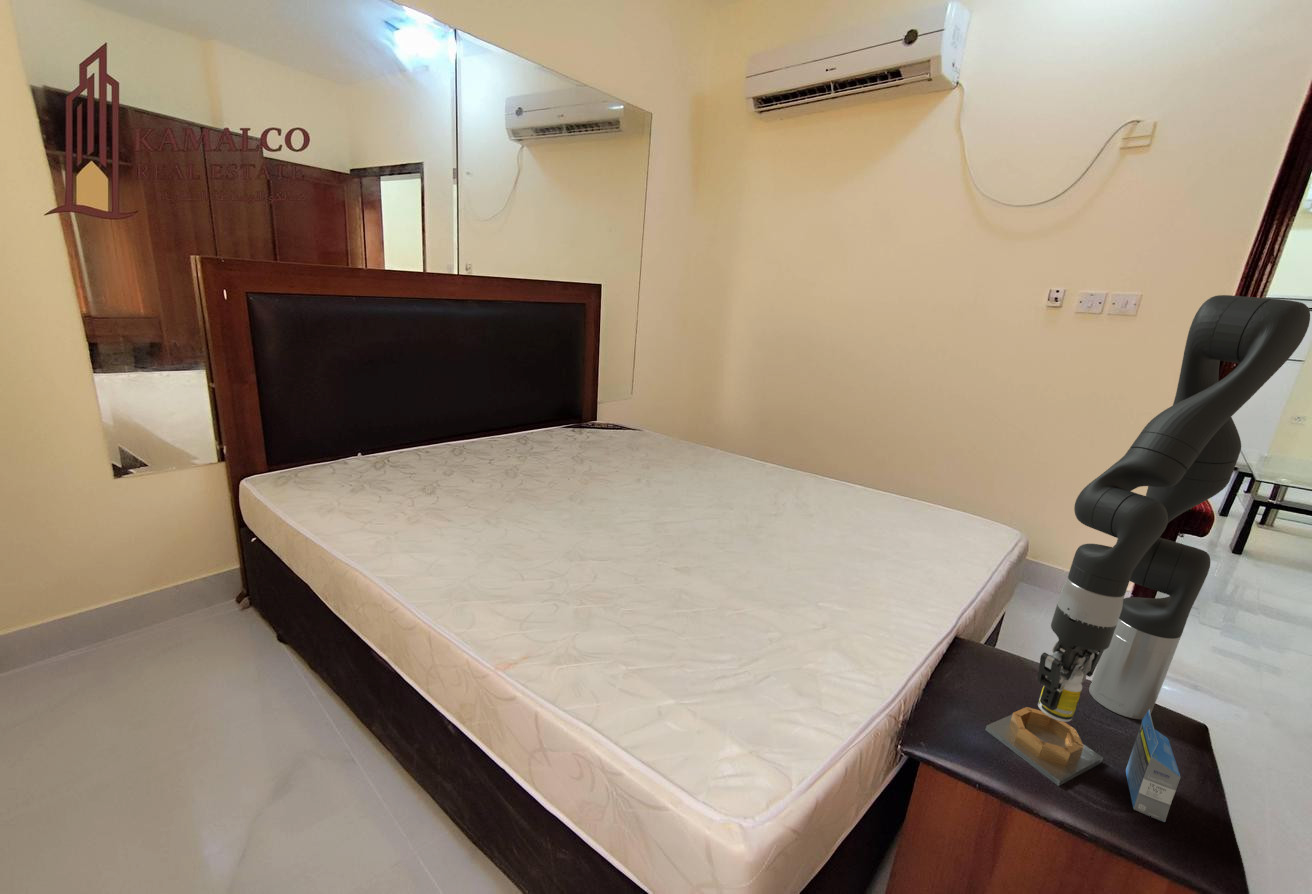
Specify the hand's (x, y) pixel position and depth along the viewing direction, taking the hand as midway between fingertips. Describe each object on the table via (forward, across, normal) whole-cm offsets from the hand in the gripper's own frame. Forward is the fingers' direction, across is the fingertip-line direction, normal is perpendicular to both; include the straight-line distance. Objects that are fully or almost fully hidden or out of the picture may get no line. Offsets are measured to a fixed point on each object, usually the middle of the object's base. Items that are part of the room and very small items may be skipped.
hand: (1057, 701), depth 90 cm
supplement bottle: (+2, 0, 0) cm, 2 cm away
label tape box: (+9, -5, +12) cm, 16 cm away
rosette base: (+9, 0, 0) cm, 9 cm away
